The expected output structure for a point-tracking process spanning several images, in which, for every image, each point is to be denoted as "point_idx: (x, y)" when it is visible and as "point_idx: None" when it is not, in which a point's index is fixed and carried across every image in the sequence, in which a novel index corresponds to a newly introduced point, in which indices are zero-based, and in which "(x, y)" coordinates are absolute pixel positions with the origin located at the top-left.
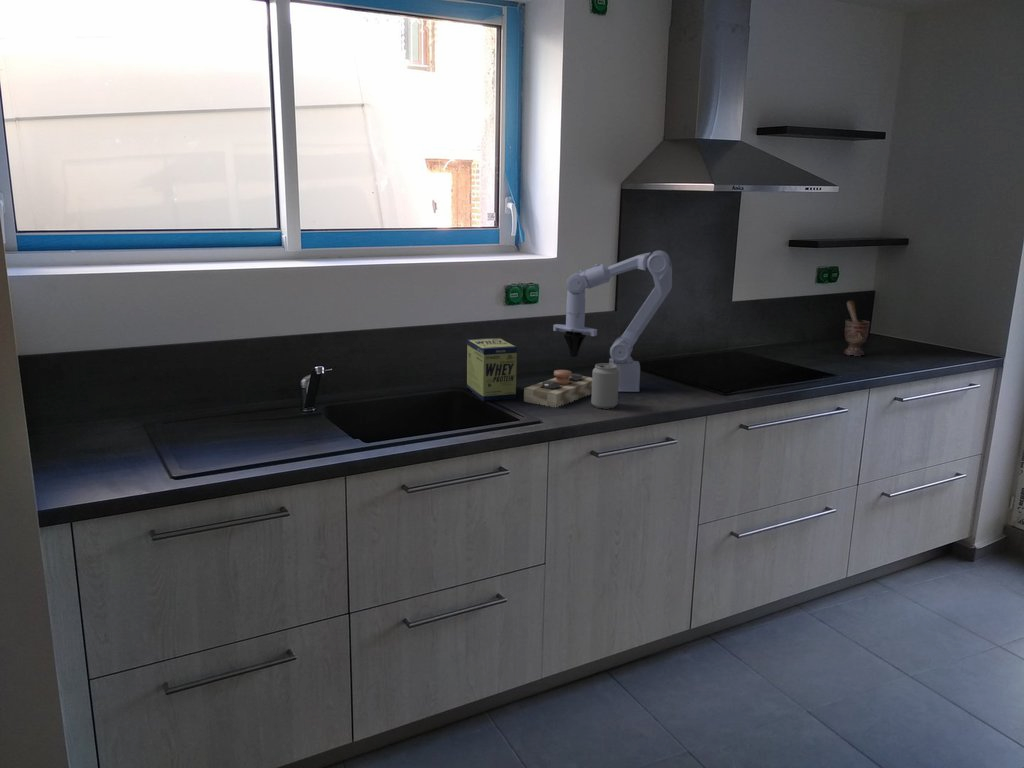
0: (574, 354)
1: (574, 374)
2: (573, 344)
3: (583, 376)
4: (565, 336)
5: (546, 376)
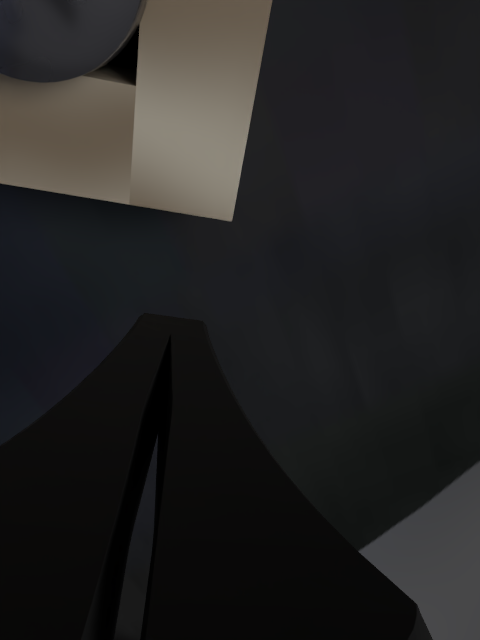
0: (128, 334)
1: (42, 18)
2: (88, 434)
3: (28, 173)
4: (352, 619)
5: (448, 362)
